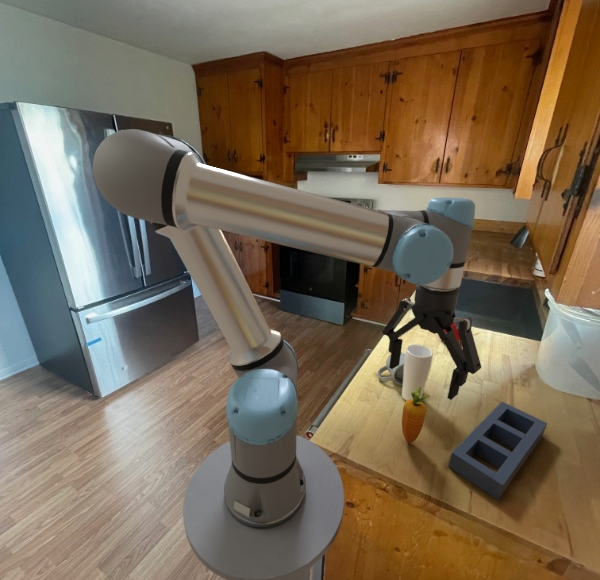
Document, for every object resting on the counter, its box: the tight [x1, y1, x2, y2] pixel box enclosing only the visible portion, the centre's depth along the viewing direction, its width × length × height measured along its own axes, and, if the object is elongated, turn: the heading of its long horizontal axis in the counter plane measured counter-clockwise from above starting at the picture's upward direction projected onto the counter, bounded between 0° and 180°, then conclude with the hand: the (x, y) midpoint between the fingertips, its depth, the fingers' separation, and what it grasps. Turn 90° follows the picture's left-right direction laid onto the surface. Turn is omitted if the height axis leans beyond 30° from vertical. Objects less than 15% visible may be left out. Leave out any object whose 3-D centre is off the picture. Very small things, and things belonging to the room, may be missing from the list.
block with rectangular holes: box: [448, 401, 548, 501], centre depth 74 cm, size 10×26×4 cm, turn 130°
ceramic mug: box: [376, 351, 405, 387], centre depth 98 cm, size 11×8×8 cm
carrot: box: [401, 387, 430, 445], centre depth 73 cm, size 5×5×15 cm
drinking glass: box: [401, 344, 434, 402], centre depth 88 cm, size 7×7×15 cm
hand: (421, 380), depth 69 cm, fingers open, 13 cm apart
